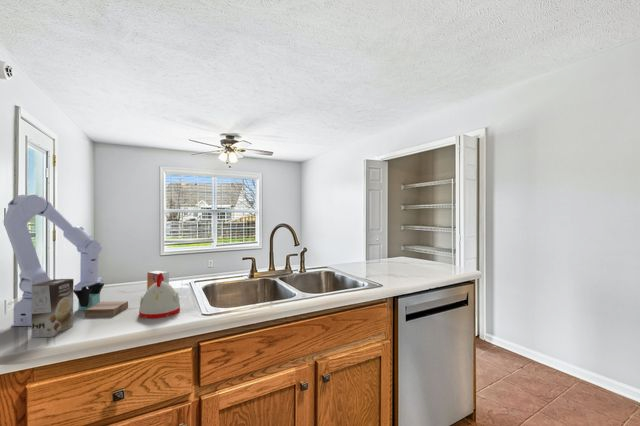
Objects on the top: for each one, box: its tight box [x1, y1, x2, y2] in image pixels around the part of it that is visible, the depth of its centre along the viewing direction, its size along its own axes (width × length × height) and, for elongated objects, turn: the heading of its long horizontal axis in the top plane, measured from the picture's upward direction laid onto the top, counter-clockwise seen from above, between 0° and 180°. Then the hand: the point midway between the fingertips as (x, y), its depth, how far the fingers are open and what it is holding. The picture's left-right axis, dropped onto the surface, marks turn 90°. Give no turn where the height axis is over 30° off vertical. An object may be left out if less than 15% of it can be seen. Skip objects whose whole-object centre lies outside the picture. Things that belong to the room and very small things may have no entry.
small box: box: [146, 270, 170, 291], centre depth 143 cm, size 8×6×10 cm
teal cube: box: [77, 293, 101, 311], centre depth 123 cm, size 5×5×5 cm
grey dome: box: [138, 273, 181, 320], centre depth 119 cm, size 14×14×15 cm
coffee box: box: [30, 278, 74, 338], centre depth 99 cm, size 9×6×16 cm
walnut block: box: [84, 300, 129, 318], centre depth 119 cm, size 10×10×3 cm
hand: (89, 304), depth 123 cm, fingers open, 6 cm apart
